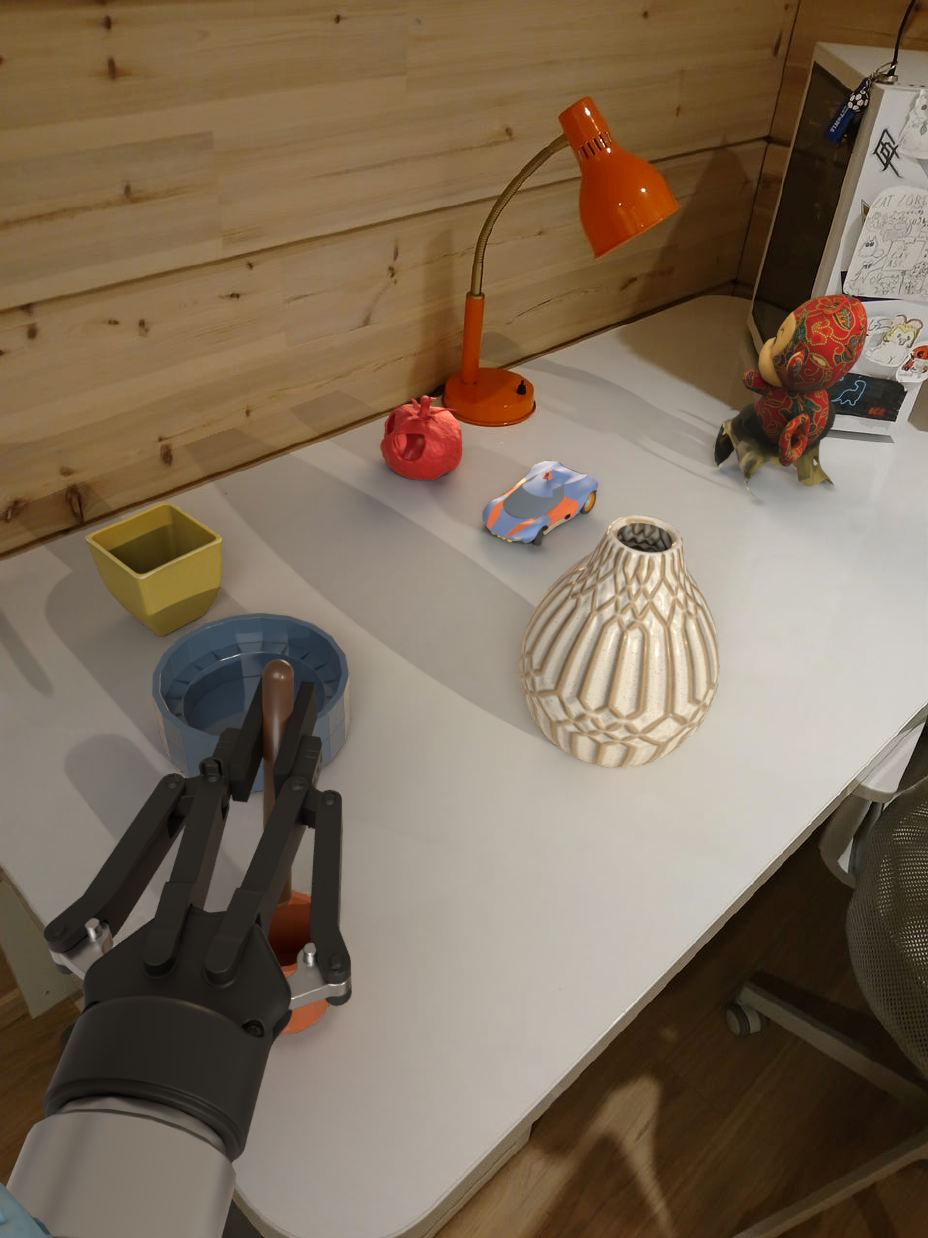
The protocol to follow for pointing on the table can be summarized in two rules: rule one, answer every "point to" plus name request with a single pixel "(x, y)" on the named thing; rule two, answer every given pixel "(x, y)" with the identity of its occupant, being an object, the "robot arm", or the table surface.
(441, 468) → the pomegranate
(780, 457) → the stuffed monkey
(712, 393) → the table surface
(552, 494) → the toy car
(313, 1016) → the holder
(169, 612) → the flower pot
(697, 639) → the vase
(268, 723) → the stick
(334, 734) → the bowl
